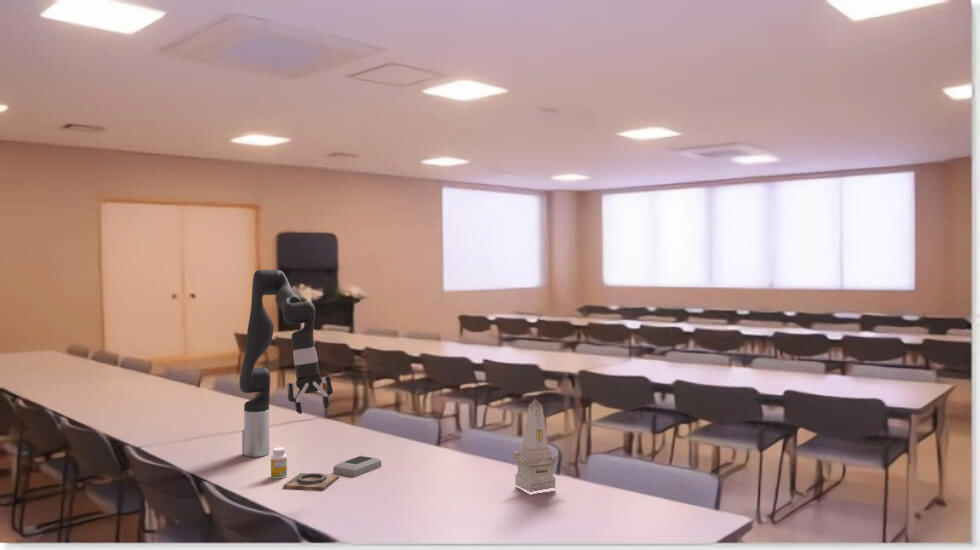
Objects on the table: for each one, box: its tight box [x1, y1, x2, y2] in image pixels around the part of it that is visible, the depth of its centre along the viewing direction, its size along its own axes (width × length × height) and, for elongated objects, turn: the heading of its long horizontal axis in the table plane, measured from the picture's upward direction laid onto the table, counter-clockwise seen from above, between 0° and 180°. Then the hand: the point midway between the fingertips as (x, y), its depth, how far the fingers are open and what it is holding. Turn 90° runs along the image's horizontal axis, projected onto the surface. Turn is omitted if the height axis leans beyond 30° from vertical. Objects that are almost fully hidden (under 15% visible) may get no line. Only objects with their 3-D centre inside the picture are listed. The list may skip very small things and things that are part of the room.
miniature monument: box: [513, 398, 558, 492], centre depth 249 cm, size 10×10×30 cm
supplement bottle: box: [270, 446, 288, 479], centre depth 263 cm, size 5×5×10 cm
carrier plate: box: [282, 472, 340, 491], centre depth 256 cm, size 14×14×2 cm
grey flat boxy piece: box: [332, 454, 382, 478], centre depth 272 cm, size 10×4×15 cm
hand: (312, 411), depth 249 cm, fingers open, 8 cm apart
